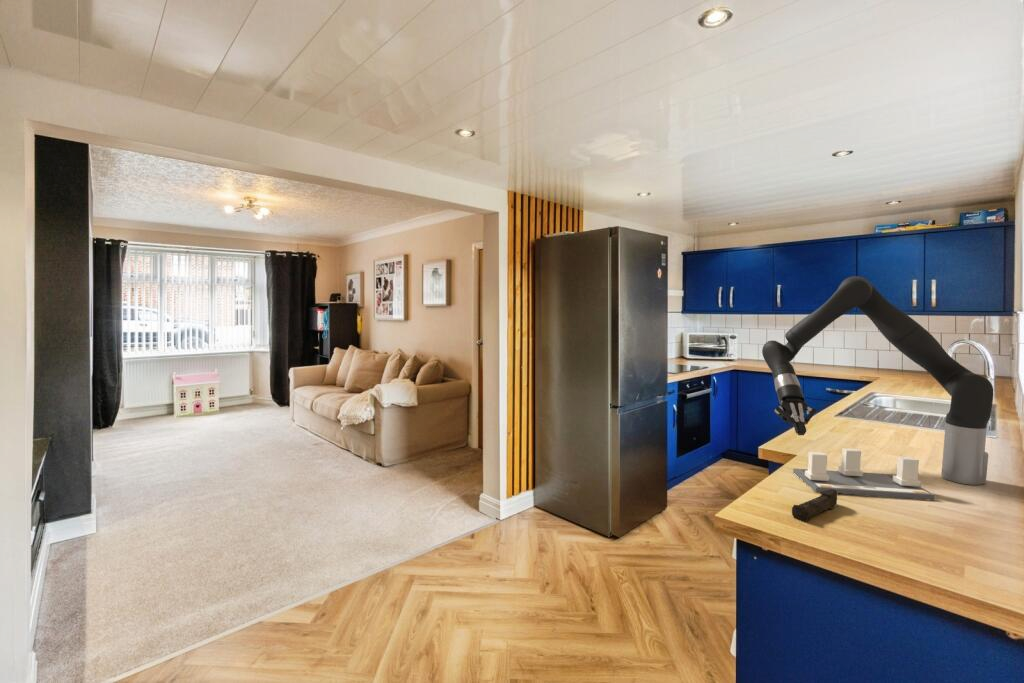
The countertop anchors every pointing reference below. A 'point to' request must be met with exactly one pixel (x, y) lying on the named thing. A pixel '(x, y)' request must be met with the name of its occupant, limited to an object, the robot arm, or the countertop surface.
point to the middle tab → (850, 462)
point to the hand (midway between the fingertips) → (802, 434)
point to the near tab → (907, 472)
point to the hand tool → (815, 505)
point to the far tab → (817, 466)
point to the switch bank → (865, 485)
